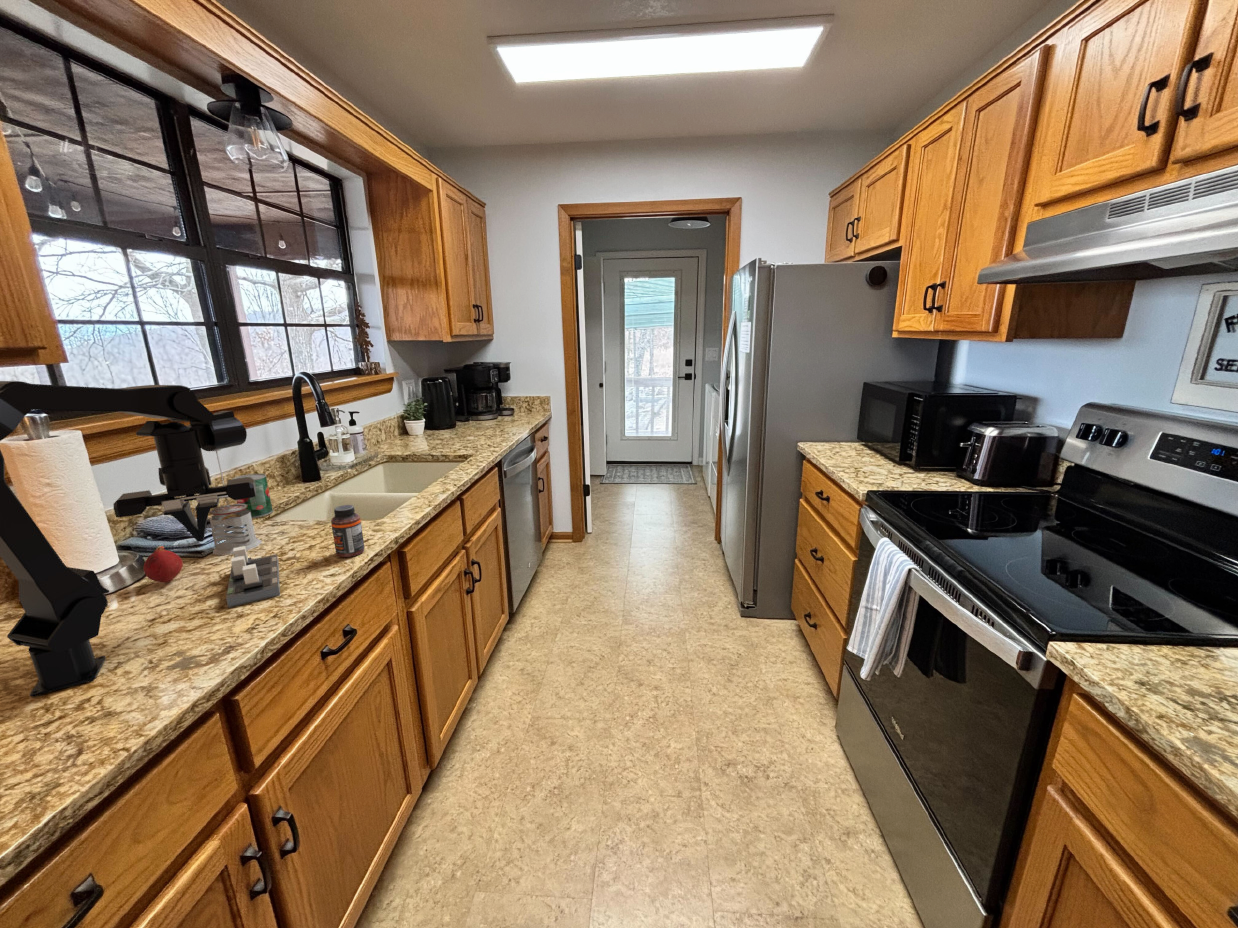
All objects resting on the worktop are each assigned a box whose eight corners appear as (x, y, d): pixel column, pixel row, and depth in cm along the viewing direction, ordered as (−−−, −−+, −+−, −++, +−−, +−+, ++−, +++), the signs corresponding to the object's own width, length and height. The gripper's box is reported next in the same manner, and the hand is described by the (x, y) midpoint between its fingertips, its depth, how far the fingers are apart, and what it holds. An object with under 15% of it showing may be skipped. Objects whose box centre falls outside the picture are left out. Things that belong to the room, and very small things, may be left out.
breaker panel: (279, 595, 96) (278, 585, 96) (228, 607, 92) (226, 597, 91) (278, 562, 110) (276, 553, 110) (233, 571, 106) (231, 562, 106)
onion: (163, 590, 98) (153, 553, 96) (140, 588, 99) (130, 551, 97) (193, 577, 104) (184, 542, 102) (171, 575, 105) (162, 540, 103)
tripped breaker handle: (262, 584, 95) (258, 567, 94) (242, 589, 94) (239, 571, 93) (262, 578, 98) (258, 562, 97) (243, 583, 96) (239, 566, 95)
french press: (255, 550, 117) (233, 447, 111) (194, 559, 113) (169, 452, 106) (266, 536, 126) (247, 439, 119) (211, 543, 121) (188, 444, 115)
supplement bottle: (330, 555, 114) (322, 509, 111) (354, 546, 119) (347, 501, 116) (347, 560, 111) (339, 513, 108) (370, 550, 116) (364, 505, 113)
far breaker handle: (251, 565, 104) (247, 549, 103) (233, 568, 102) (229, 552, 101) (251, 560, 106) (248, 544, 105) (234, 563, 105) (230, 547, 104)
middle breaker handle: (250, 575, 99) (246, 559, 98) (231, 579, 97) (227, 563, 96) (250, 570, 101) (247, 554, 100) (232, 574, 100) (228, 557, 99)
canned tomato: (279, 509, 145) (272, 473, 143) (257, 519, 138) (249, 481, 135) (255, 508, 146) (248, 473, 144) (232, 518, 139) (224, 480, 136)
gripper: (248, 443, 97) (263, 517, 101) (118, 456, 87) (140, 538, 91) (246, 453, 89) (263, 534, 92) (101, 469, 78) (126, 559, 82)
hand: (200, 540), depth 90 cm, fingers closed
